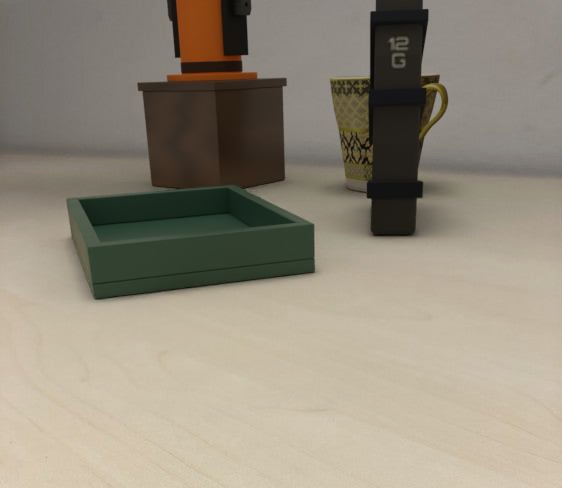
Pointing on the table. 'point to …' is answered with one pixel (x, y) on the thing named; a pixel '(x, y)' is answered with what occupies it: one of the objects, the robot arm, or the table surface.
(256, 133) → the stand
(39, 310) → the table surface
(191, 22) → the hat
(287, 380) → the table surface
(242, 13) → the robot arm
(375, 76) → the magazine
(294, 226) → the tray
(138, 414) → the table surface
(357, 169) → the ceramic cup
